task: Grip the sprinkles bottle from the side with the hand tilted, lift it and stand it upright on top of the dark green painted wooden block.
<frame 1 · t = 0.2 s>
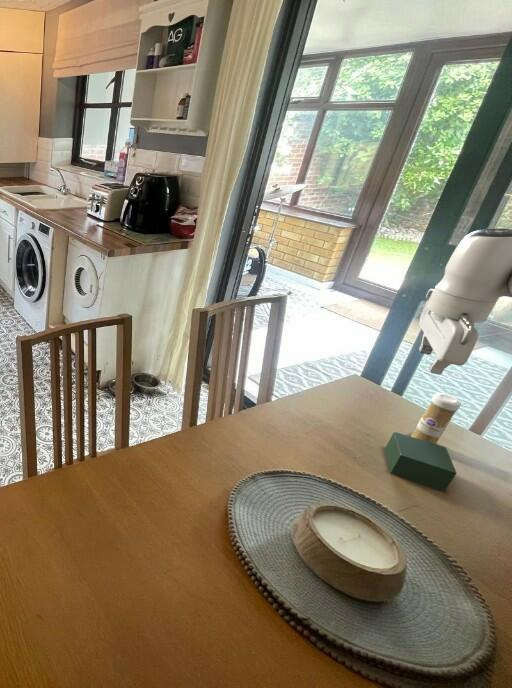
hand: (429, 362, 91), 25 cm above the table, tool pointing down, fingers open, 8 cm apart
riser block: (412, 468, 94), on the table
sprinkles bottle: (422, 442, 102), on the table
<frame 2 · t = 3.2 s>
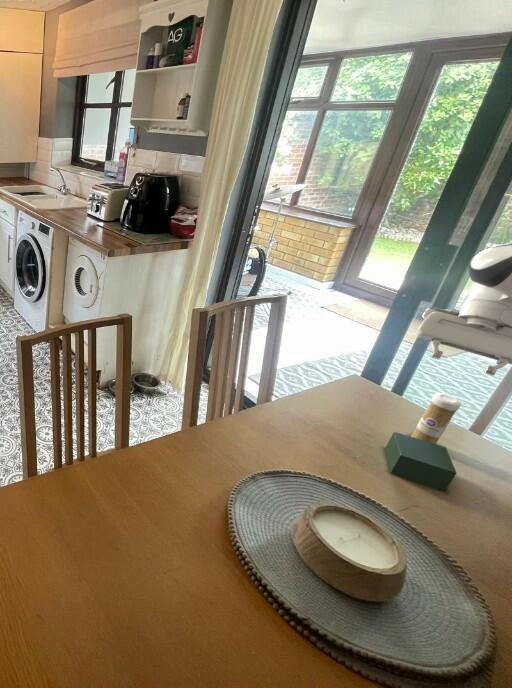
hand: (461, 365, 102), 17 cm above the table, tool tilted 45°, fingers open, 8 cm apart
nothing on the table moved.
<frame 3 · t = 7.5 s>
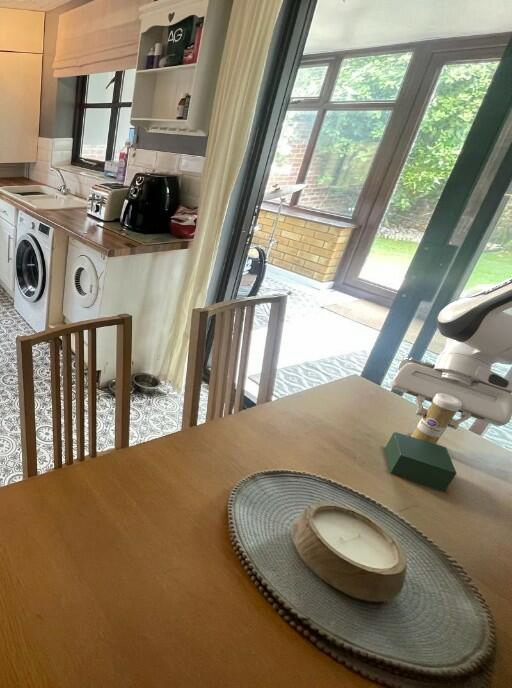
hand: (435, 421, 99), 7 cm above the table, tool tilted 45°, fingers closed on sprinkles bottle, 4 cm apart
sprinkles bottle: (422, 441, 102), on the table, touching gripper
when the fingers open (12 cm above the table, at t = 14.8 s): sprinkles bottle stays where it is, resting on riser block.
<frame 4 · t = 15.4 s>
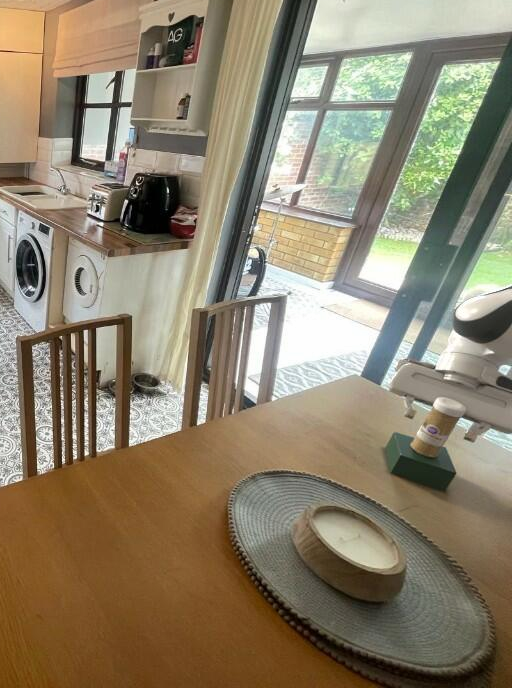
hand: (437, 428, 89), 12 cm above the table, tool tilted 45°, fingers open, 8 cm apart
sprinkles bottle: (423, 451, 92), point 5 cm above the table, touching riser block
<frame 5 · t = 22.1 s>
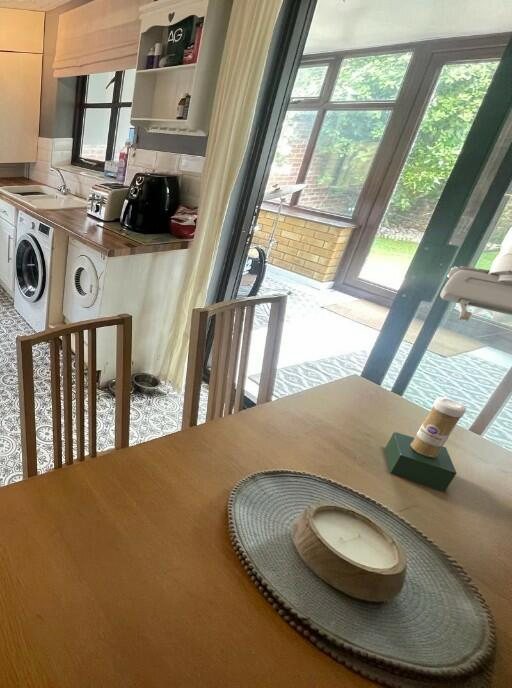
hand: (493, 327, 91), 31 cm above the table, tool tilted 45°, fingers open, 8 cm apart
nothing on the table moved.
at the end: sprinkles bottle 0.1 cm off-centre on the riser block, point 5.3 cm above the riser block's base; sprinkles bottle tilted 0°; the gripper is holding nothing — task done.
